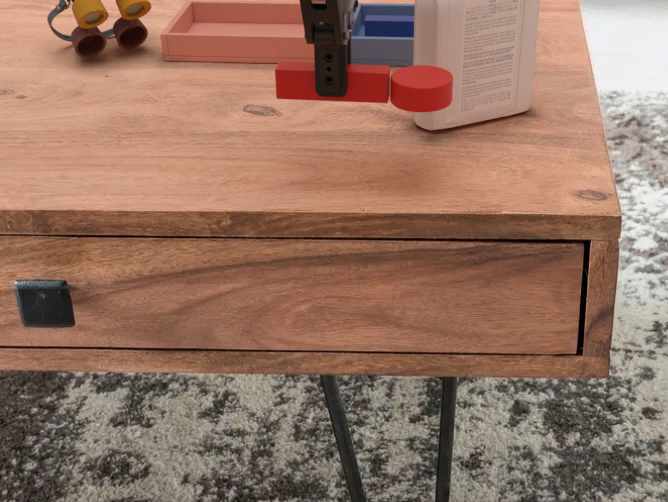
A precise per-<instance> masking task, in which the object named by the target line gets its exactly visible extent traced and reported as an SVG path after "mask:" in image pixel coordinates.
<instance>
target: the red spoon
mask: <svg viewBox="0 0 668 502" xmlns="http://www.w3.org/2000/svg"><path fill="white" fill-rule="evenodd" d="M274 78H275V79H274V80H275V81H274V82H275V96H276V99H277V100H293V101H294V100H296V101H319V102H344V103H370V104H388V103H389V100H390V103H391V104H392V106H393V107H394V108H397V109H399V110H402V111H406V112H412V113H413V112H433V111H438V110H442V109H444V108H446V107H448V106H449V105H450V104H451V102H452V93H453V75H452V74H451V73H450V72H449V71H447V70H445V69H443V68H439V67H435V66H427V65H415V66H402V67H400V68H397V69H396V70H394V71H392V73H391V66H387V65H359V64H348V89H347V92H346V94H345V96H343V97H321V96H319V95H318V94H317V93H316V90H315V63H303V62H279V63H277V65H276V67H275V68H274Z"/></svg>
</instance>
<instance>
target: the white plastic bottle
mask: <svg viewBox="0 0 668 502" xmlns="http://www.w3.org/2000/svg"><path fill="white" fill-rule="evenodd" d="M414 4H415V15H414V54H413V66H415V65H427V66H435V67H439V68H443V69H445V70H447V71H449V72H450V73H451V74H452V75H453V93H452V102H451V104H450V105H449V106H448V107H446V108H444V109H442V110H438V111H433V112H412V114H413V115H414V116H413V120H414V123H415V124H416V125H417V126H418V127H420V128H422V129H425V130H428V131H436V130H438V131H439V130H445V129H451V128H456V127H460V126H466V125H470V124H474V123H481V122H484V121H489V120H493V119H494V120H495V119H499V118H503V117H508V116H509V117H510V116H512V115H517V114H520V113H524V112H526V111H528V110H529V109H530V107H531V104H532V95H533V83H534V73H535V72H534V71H535V62H536V61H535V60H536V51H537V50H536V49H537V39H538V28H539V17H540V6H541V0H414Z"/></svg>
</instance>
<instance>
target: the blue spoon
mask: <svg viewBox="0 0 668 502" xmlns="http://www.w3.org/2000/svg"><path fill="white" fill-rule="evenodd" d="M364 29H365V37H414V16H389V15H366V17H365V20H364Z"/></svg>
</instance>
